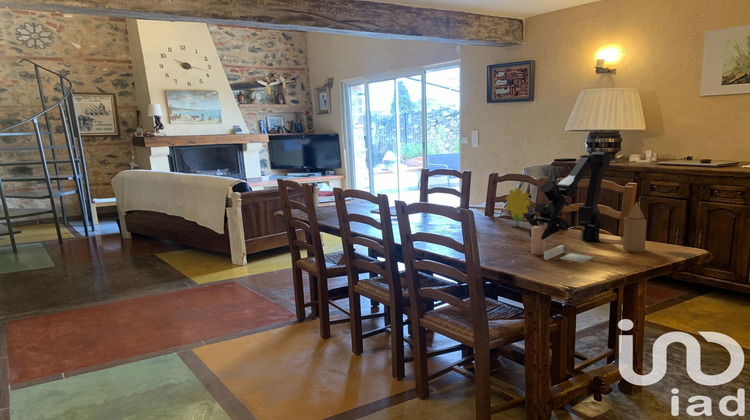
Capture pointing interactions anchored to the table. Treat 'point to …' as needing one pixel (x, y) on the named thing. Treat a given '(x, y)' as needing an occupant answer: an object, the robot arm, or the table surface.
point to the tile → (576, 257)
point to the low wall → (553, 252)
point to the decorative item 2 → (634, 230)
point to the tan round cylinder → (537, 240)
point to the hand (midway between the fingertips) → (536, 237)
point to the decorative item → (517, 204)
